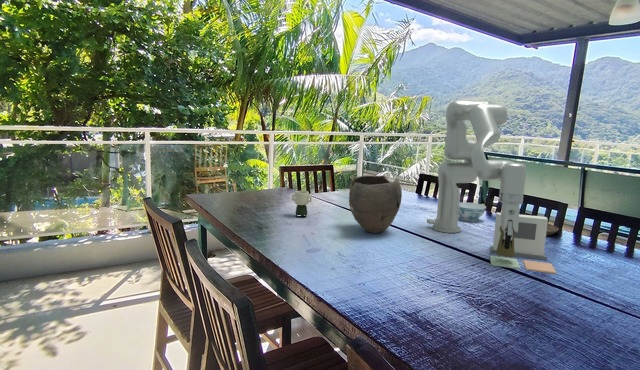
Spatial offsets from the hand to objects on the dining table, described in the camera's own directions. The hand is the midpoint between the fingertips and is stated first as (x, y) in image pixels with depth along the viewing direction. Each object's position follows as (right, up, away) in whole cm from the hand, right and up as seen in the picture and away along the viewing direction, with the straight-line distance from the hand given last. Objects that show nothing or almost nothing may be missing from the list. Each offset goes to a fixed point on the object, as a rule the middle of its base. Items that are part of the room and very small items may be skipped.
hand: (505, 248), depth 137 cm
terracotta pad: (+10, -6, -3) cm, 12 cm away
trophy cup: (-76, +6, +61) cm, 98 cm away
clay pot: (-43, +1, +36) cm, 56 cm away
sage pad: (0, -5, +1) cm, 5 cm away
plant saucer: (+34, 0, +45) cm, 56 cm away
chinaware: (+11, +4, +63) cm, 64 cm away
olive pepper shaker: (0, -2, 0) cm, 2 cm away
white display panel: (+9, -4, +11) cm, 15 cm away
